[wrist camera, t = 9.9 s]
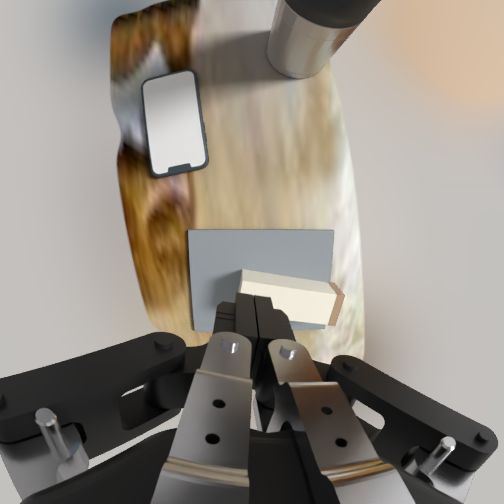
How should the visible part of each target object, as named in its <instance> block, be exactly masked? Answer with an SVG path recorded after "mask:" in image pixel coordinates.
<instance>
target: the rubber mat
mask: <svg viewBox="0 0 504 504" xmlns="http://www.w3.org/2000/svg"><path fill="white" fill-rule="evenodd" d="M188 240H189V261H190V278H191V293H192V306H193V318H194V329H195V331H201V332H213V328H214V322H215V315H216V309H217V305H218V304H220V303H221V302H222V301H226V302H232V303H234V301H235V296H236V292H238V290H239V285H240V279H241V274H242V269H245V270H251V271H258V272H264V273H270V274H276V275H283V276H289V277H295V278H302V279H308V280H315V281H321V282H330V278H331V268H332V256H333V243H334V230H303V229H195V230H188ZM289 322H290V325H291V329H292V331H295V330H314V329H325V324H316V323H307V322H298V321H290V320H289Z"/></svg>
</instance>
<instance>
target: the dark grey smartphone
mask: <svg viewBox="0 0 504 504" xmlns="http://www.w3.org/2000/svg"><path fill="white" fill-rule="evenodd" d="M141 91H142V102H143V112H144V121H145V130H146V140H147V146H148V153H149V160H150V166H151V172H152V174H153V175H154V176H156V177H165V176H170V175H174V174H179V173H184V172H189V171H194V170H199V169H203V168H205V167H206V166H207V165H208V163H209V156H208V149H207V143H206V142H207V139H206V133H205V125H204V122H203V116H202V109H201V102H200V95H199V88H198V81H197V75H196V73H195V71H193V70H192V69H186V70H181V71H177V72H173V73H168V74H164V75H161V76H157V77H153V78H150V79H147V80H145V81H144V82H143V84H142V86H141Z"/></svg>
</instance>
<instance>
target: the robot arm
mask: <svg viewBox="0 0 504 504" xmlns="http://www.w3.org/2000/svg"><path fill="white" fill-rule="evenodd" d="M380 1H381V0H278V3H277V7H276V11H275V15H274V19H273V23H272V28H271V32H270V36H269V40H268V45H267V57H268V60H269V62H270V64H271V65H272V66H273V67H274V68H275V69H276V70H277V71H278V72H280V73H282V74H283V75H285V76H288V77H291V78H309V77H311V76H314V75H315V74H317V73H318V72H319V71H320V70H321V69H322V68H323V67H324V65H325V64H326V63H327V62H328V61H329V60H330V58H331V57H332V56H333V55H334V54H335V53H336V51H337V50H338V49H339V48H340V47H341V45H342V44H343V43H344V42H345V41H346V39H347V38H348V37H349V36H350V35H351V34H352V33H353V31H354V30H355V29H356V28H357V27H358V26H359V25H360V23H361V22H362V21H363V20H364V19H365V18H366V17H367V15H368V14H369V13H370V12H371V11H372V9H373V8H374V7H375V6H376V5H377V4H378V3H379V2H380ZM141 385H144V387H143V388H141V389H139V390H137V391H134V392H132V393H129V394H127V395H125V396H123V397H121V396H122V395H123V394H124V393H126V392H127V391H130V390H132V389H134V388H137V387H139V386H141ZM252 389H254V390H255V391H256V394H255V398H254V401H253V408H254V414H255V420H256V425H257V430H254V429H250V419H251V400H252ZM356 400H358V401H360V402H361V403H363V404H364V405H366V406H368V407H369V408H371V409H373V410H374V411H376V412H378V413H379V414H381V415H382V416H383V418H384V420H385V425H384V427H383V428H382V429H377V428H375V427H374V426H372V425H370V424H368V423H367V422H366V421H364V420H362V419H360V418H359V417H358V416H356V414H355V413H354V411H353V409H352V406H353V405H354V403H355V401H356ZM181 408H184V409H183V412H182V415H181V419H180V422H179V425H178V428H174V429H169V430H165V431H162V432H159V433H156V434H154V435H151V436H150V437H148V438H146V439H144V440H143V441H141V442H139V443H137V444H136V445H134V446H132V447H130V448H128V449H127V450H125V451H123V452H121V453H119V454H117V455H116V456H114V457H112V458H110V459H108V460H106V461H104V462H102V463H100V464H98V465H96V466H94V467H92V468H90V469H88V466H89V460H90V459H92V458H94V457H96V456H99V455H101V454H103V453H105V452H107V451H110V450H112V449H114V448H116V447H118V446H120V445H122V444H124V443H126V442H128V441H130V440H132V439H134V438H136V437H137V436H140V435H142V434H143V433H145V432H147V431H149V430H151V429H153V428H155V427H157V426H158V425H160V424H162V423H164V422H166V421H167V420H169V419H171V418H173V417H174V416H176V415H177V414H179V413H180V411H181ZM497 447H498V440H497V437H496V435H495V434H494V432H493V431H492V430H491V429H489V428H488V427H486V426H484V425H482V424H480V423H478V422H476V421H474V420H472V419H470V418H468V417H466V416H464V415H462V414H460V413H458V412H456V411H454V410H452V409H450V408H448V407H446V406H444V405H442V404H440V403H438V402H437V401H434V400H433V399H431V398H429V397H427V396H425V395H423V394H421V393H420V392H418V391H416V390H414V389H412V388H410V387H409V386H407V385H405V384H403V383H401V382H399V381H397V380H396V379H394V378H392V377H390V376H389V375H387V374H384V373H383V372H381V371H380V370H378V369H376V368H374V367H372V366H371V365H369V364H367V363H365V362H364V361H362V360H360V359H358V358H356V357H353V356H349V355H339V356H336V357H334V358H333V359H332V361H331V364H330V365H329V364H325V363H321V362H317V361H314V360H312V358H311V356H310V354H309V352H308V350H307V349H306V348H305V347H304V346H303V345H301V344H300V343H298V342H296V340H295V337H294V334H293V331H292V329H291V325H290V322H289V319H288V316H287V315H286V314H285V313H284V312H283V311H282V310H280V309H274V308H273V304H272V300H271V297H265V296H258V295H254V296H253V295H251V294H245V293H239V292H236V296H235V301H234V303H232V302H226V301H222V302H221V303H220V304H218V305H217V309H216V315H215V322H214V328H213V334H212V336H211V337H210V339H209V342H208V343H206V344H204V345H201V346H196V347H186V343H185V342H184V340H183V339H182V338H180V337H179V336H177V335H175V334H172V333H167V332H154V333H151V334H147V335H145V336H141V337H138V338H135V339H132V340H130V341H127V342H124V343H120V344H117V345H114V346H111V347H108V348H105V349H102V350H98V351H95V352H92V353H89V354H86V355H83V356H79V357H76V358H72V359H69V360H66V361H62V362H59V363H55V364H52V365H49V366H46V367H42V368H38V369H34V370H31V371H27V372H23V373H20V374H16V375H12V376H8V377H4V378H0V454H1V457H2V459H3V462H4V464H5V466H6V469H7V471H8V473H9V475H10V477H11V479H12V482H13V484H14V486H15V487H16V490H17V492H18V493H19V495H20V497H21V499H22V502H21V503H20V504H464V501H465V499H466V496H467V493H468V491H469V488H470V485H471V483H472V480H473V476H474V474H475V472H476V471H477V470H478V469H479V468H480V466H482V464H483V463H484V462H485V461H486V460H487V459H488V458H489V457H490V456H491V455H492V453H493V452H494V451H495V450H496V449H497Z"/></svg>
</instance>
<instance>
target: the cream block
mask: <svg viewBox="0 0 504 504" xmlns="http://www.w3.org/2000/svg"><path fill="white" fill-rule="evenodd" d="M238 292H239V293H245V294H251V295H253V296H254V295H258V296H265V297H271V300H272V304H273V308H274V309H280V310H282V311H283V312H284V313H285V314H286V315H287V316H288V319H289V320H290V321H298V322H307V323H316V324H325V325H331V326H335V325H336V322H337V319H338V316H339V313H340V310H341V306H342V303H343V300H344V297H345V295H344V294H343V293H342V291H341V290H340V289H339V288H338V287H337V285H336V284H335V283H331V282H321V281H315V280H308V279H302V278H295V277H289V276H283V275H276V274H270V273H264V272H258V271H251V270H245V269H242V274H241V279H240V285H239V290H238Z"/></svg>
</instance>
